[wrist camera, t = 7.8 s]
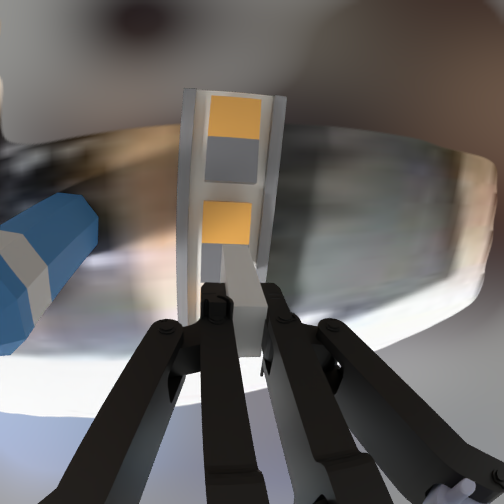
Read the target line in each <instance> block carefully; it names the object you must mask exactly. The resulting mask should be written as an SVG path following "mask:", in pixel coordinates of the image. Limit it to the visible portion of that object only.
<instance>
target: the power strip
mask: <svg viewBox="0 0 504 504" xmlns="http://www.w3.org/2000/svg"><path fill="white" fill-rule="evenodd" d="M211 95H213V96H229V97H241V98H252V99H261V117H260V136H259V154H258V172H257V183H256V184H254V185H248V184H231V183H212V182H205V181H204V180H205V164H206V151H207V138H208V126H209V115H210V104H211ZM286 101H287V97H285V96H278V95H274V96H268V95H259V94H250V93H239V92H227V91H211V90H197V89H195V88H184V93H183V103H182V115H181V128H180V142H179V159H178V181H177V217H176V274H177V309H178V322H179V323H181V324H182V326H183V327H184V326H189V325H192V324H194V323H196V322H197V321H198V320H199V318H200V292H201V287H202V285H203V284H204V283H201V246H202V221H203V201H204V200H214V201H235V202H249V203H252V209H251V224H250V238H249V251H250V254H251V257H252V260H253V263H254V266H255V269H256V272H257V275H258V278H259V281H260V283H266V276H267V268H268V260H269V252H270V244H271V236H272V227H273V219H274V211H275V202H276V194H277V185H278V176H279V167H280V158H281V149H282V140H283V130H284V121H285V111H286Z"/></svg>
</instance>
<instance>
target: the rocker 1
mask: <svg viewBox="0 0 504 504" xmlns="http://www.w3.org/2000/svg"><path fill="white" fill-rule="evenodd" d="M260 117H261V99H252V98H241V97H229V96H213V95H211V104H210V115H209V126H208V138H207V151H206V164H205V180H204V181H205V182H212V183H231V184H248V185H254V184H256V183H257V172H258V154H259V136H260Z"/></svg>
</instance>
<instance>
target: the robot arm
mask: <svg viewBox="0 0 504 504" xmlns="http://www.w3.org/2000/svg"><path fill="white" fill-rule="evenodd" d="M261 349H262V351H263V361H262V367H261V373H260V376H263V372H264V374H265V378H266V382H267V386H268V390H269V394H270V399H271V403H272V407H273V411H274V415H275V419H276V423H277V427H278V431H279V436H280V440H281V444H282V448H283V452H284V456H285V460H286V464H287V467H288V471H289V475H290V479H291V483H292V487H293V491H294V504H394V503H393V501H392V499H391V497H390V494H389V492H388V490H387V487H386V485H385V483H384V481H383V479H382V476H381V474H380V472H379V470H378V467H377V465H378V466H379V467H380V469H381V470H382V471H383V472H384V473H385V475H386V476H387V477H388V478H389V480H390V481H391V482H392V483H393V484H394V486H395V487H396V488H397V489H398V491H399V492H400V493H401V494H402V495H403V496H404V497H405V498H407V500H409V501H410V502H411V503H412V504H490V503H491V502H492V501H493V500H495V499H496V498H497V497H499V496H500V495H501V494H502V493H504V462H502V461H500V460H498V459H496V458H494V457H492V456H490V455H488V454H486V453H484V452H482V451H480V450H478V449H477V448H475V447H473V446H471V445H469V444H467V443H466V442H465V441H464V440H463V439H462V438H461V437H460V436H459V435H458V434H457V433H456V432H455V431H454V430H453V429H452V428H451V427H450V426H449V425H448V424H447V423H446V422H445V421H444V420H443V419H442V418H441V417H440V416H439V415H438V414H437V413H436V412H435V411H434V410H433V409H432V408H431V407H430V406H429V405H428V404H427V403H426V402H425V401H424V400H423V399H422V398H421V397H420V396H419V395H417V393H415V391H414V390H413V389H411V387H409V386H408V385H407V384H406V383H405V382H404V381H403V380H402V379H401V378H400V377H399V376H398V375H397V374H396V373H395V372H394V371H393V370H392V369H391V368H390V367H389V366H388V365H387V364H386V363H385V362H384V361H383V360H382V359H381V358H380V357H379V356H378V355H377V354H376V353H375V352H374V351H373V350H372V349H371V348H370V347H368V346H367V345H366V344H365V343H364V342H363V341H362V340H361V339H360V338H359V337H358V336H357V335H356V334H355V333H354V332H353V331H352V330H351V329H350V328H349V327H348V326H347V325H346V324H344V323H343V322H342V321H339V320H337V319H333V318H326V319H323V320H321V321H320V322H319V323H318V326H312V325H307V324H303V323H301V321H300V319H299V317H298V316H297V315H295V314H294V313H292V312H290V310H289V308H288V306H287V303H286V301H285V299H284V296H283V295H282V292H281V289H280V288H279V287H278V286H277V285H276V284H274V283H260V281H259V278H258V275H257V272H256V269H255V266H254V263H253V260H252V257H251V254H250V251H249V248H248V245H223V244H222V257H221V274H220V283H214V282H205V283H204V284H203V285H202V287H201V302H200V318H199V320H198V321H197V322H196V323H194V324H192V325H189V326H184V327H183V326H182V324H181V323H179V322H178V321H175V320H172V319H163V320H159V321H156V322H154V323H153V324H152V325H151V327H150V328H149V330H148V331H147V333H146V335H145V336H144V338H143V339H142V341H141V343H140V344H139V346H138V347H137V349H136V351H135V352H134V354H133V355H132V357H131V359H130V360H129V362H128V363H127V365H126V367H125V368H124V370H123V372H122V373H121V375H120V377H119V378H118V380H117V382H116V383H115V385H114V387H113V388H112V390H111V392H110V393H109V395H108V397H107V398H106V400H105V402H104V403H103V405H102V407H101V409H100V410H99V412H98V414H97V415H96V417H95V419H94V421H93V423H92V424H91V426H90V428H89V430H88V431H87V433H86V435H85V437H84V439H83V440H82V442H81V444H80V446H79V447H78V449H77V451H76V453H75V455H74V456H73V458H72V460H71V462H70V464H69V466H68V468H67V469H66V471H65V473H64V475H63V477H62V479H61V481H60V483H59V485H58V487H57V488H56V489H55V490H54V491H53V492H52V493H50V494H49V495H48V496H47V497H45V498H44V499H43V500H42V501H40V502H39V503H38V504H139V502H140V499H141V496H142V493H143V491H144V488H145V485H146V482H147V480H148V477H149V474H150V471H151V469H152V466H153V463H154V461H155V458H156V455H157V452H158V450H159V447H160V444H161V442H162V439H163V436H164V434H165V431H166V428H167V425H168V423H169V420H170V418H171V415H172V412H173V410H174V407H175V404H176V402H177V399H178V397H179V394H180V391H181V389H182V386H183V383H184V381H185V378H186V375H187V374H192V373H196V372H200V371H201V405H202V406H201V408H202V433H203V453H204V469H205V485H206V497H207V504H269V500H268V495H267V490H266V486H265V481H264V477H263V474H262V472H261V471H260V470H259V469H258V466H257V462H256V456H255V451H254V446H253V441H252V435H251V429H250V423H249V418H248V412H247V406H246V400H245V394H244V388H243V382H242V376H241V370H240V364H239V358H238V357H260V356H261ZM337 362H339V364H340V365H341V368H340V367H339V366H338V365H337ZM349 429H350V430H349ZM350 431H351V432H352V433H353V434H354V436H355V437H356V438H357V439H358V441H359V442H360V443H361V444H362V446H363V447H364V448H365V450H366V451H367V452H368V453H369V454H368V453H361V452H360V451H359V450H358V448H357V447H356V444H355V442H354V440H353V437H352V435H351V433H350ZM375 462H376V463H375ZM376 464H377V465H376Z"/></svg>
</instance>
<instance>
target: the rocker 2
mask: <svg viewBox="0 0 504 504" xmlns="http://www.w3.org/2000/svg"><path fill="white" fill-rule="evenodd" d="M251 209H252V203H249V202H235V201H214V200H204V201H203V221H202V246H201V283H205V282H214V283H220V274H221V257H222V244H223V245H248V248H249V238H250V224H251Z"/></svg>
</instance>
